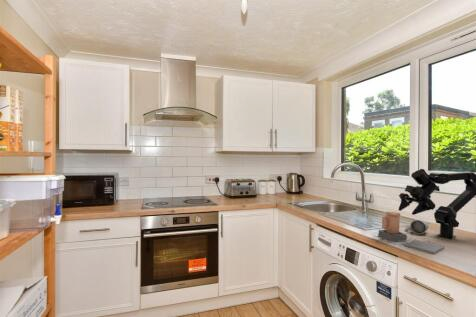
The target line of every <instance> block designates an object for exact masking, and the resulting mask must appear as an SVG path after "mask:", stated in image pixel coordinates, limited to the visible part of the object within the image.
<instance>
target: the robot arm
mask: <svg viewBox="0 0 476 317" xmlns="http://www.w3.org/2000/svg"><path fill="white" fill-rule="evenodd" d="M411 178H412V180H414V181H415V183H417V185H416V186H415V185H414V186H413V185H406V187H405V189H404V192H406V193H404V192H401V193H400V194H399V195H398V197H399V199H400V204H399V207H398V211H399V212H400V211H403V210H405V209H406V208H407V207H409V206H411V204H412V203H413V202H414V203H417V205H416V206H415V208H414V209H413V210H412V212H411V215H413V216H415V215H417V214H420V213H423V212H426V211H431V210H432V211H434V214H433V215H434V220H435V223H436V224H439V233H438V234H437V235H436V236H437V237H441V238H446V239H451V240H452V239H454V238H456V237H457V236H456V235H454V232H455V231H454V228H458V227H459V225H460V222H459V221H458V220H457V217H458V216H457V214H458V213H459V211H460V210H462V209H463V207H465V206H466V205H467V204H468V203H469V202H470V201H472V199H474V198H475V196H476V173H475V172H474V171H461V172H448V173H445V172H444V173H441V172H429V174H428V173H427V171H426V170H425V169H424V168H420V169H417V170H416V171H414V172H412V173H411ZM455 181H463V182H464V184H465V189H464V190H463V191H462V192H461V193H460V194H459V195H458V196H457V197H456V198H455V199H453V201H452V202H450V203H449V204H448V205H447V206H443V205H441V206H439V207H438V208H436V203H435V202H434V201H433V200H432V199H431V198H432V196H431V195H432V194H433V193H434V191H435V192H440V190H441V189H440V185H444V184H448V183H449V182H455ZM438 184H439V185H438ZM408 193H409V194H408ZM434 209H435V210H434Z"/></svg>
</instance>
